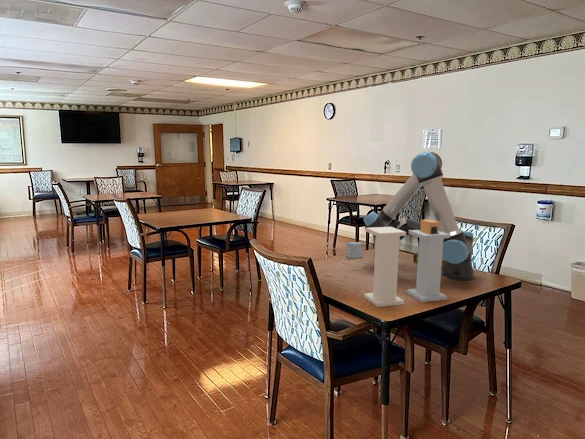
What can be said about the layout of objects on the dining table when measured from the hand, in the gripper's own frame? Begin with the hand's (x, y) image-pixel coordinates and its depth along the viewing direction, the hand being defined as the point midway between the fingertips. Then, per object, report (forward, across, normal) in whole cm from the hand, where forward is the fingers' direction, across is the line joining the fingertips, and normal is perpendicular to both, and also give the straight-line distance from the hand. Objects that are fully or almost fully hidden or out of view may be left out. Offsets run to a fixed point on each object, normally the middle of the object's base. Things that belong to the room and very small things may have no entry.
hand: (417, 219), depth 192 cm
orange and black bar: (+1, 0, -5) cm, 5 cm away
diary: (-45, -39, -12) cm, 61 cm away
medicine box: (-66, +2, +1) cm, 66 cm away
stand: (-8, +21, -32) cm, 39 cm away
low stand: (-8, 0, -32) cm, 33 cm away
